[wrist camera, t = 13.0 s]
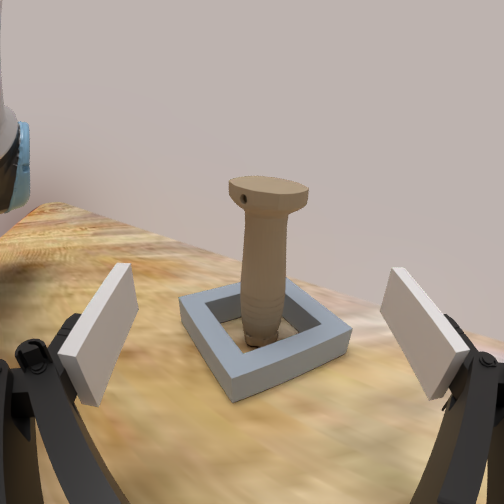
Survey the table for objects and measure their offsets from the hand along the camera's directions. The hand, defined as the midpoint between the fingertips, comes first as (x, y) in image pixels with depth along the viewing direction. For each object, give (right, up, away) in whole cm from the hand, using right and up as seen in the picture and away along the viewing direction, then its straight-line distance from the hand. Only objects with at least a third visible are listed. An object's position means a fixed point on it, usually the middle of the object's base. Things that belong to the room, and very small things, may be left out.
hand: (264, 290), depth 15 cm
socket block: (0, -7, +15) cm, 16 cm away
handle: (0, -7, +15) cm, 16 cm away
